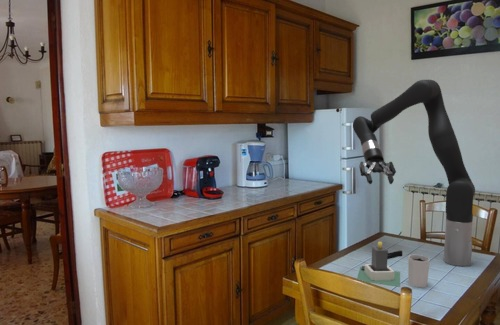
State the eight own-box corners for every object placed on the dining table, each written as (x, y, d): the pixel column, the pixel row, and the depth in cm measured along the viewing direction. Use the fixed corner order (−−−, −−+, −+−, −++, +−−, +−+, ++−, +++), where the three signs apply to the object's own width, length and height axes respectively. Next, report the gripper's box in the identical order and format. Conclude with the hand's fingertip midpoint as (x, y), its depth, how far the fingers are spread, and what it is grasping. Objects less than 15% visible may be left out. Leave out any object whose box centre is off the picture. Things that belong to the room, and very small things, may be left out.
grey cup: (404, 282, 135) (405, 254, 134) (424, 283, 134) (425, 255, 133) (410, 290, 129) (411, 261, 127) (431, 291, 128) (432, 261, 127)
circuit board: (399, 274, 142) (400, 270, 142) (399, 289, 129) (399, 285, 129) (360, 269, 147) (360, 265, 147) (356, 283, 134) (356, 278, 134)
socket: (385, 271, 142) (385, 263, 142) (394, 280, 134) (395, 272, 134) (363, 271, 141) (364, 263, 141) (371, 280, 134) (372, 272, 133)
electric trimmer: (404, 258, 160) (405, 251, 160) (379, 264, 152) (379, 257, 152) (397, 256, 163) (397, 248, 163) (371, 262, 155) (372, 254, 155)
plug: (381, 273, 140) (383, 240, 139) (386, 278, 136) (388, 243, 135) (371, 273, 140) (372, 240, 138) (375, 278, 136) (376, 243, 134)
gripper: (358, 147, 166) (366, 177, 156) (391, 147, 167) (401, 177, 157) (354, 158, 172) (361, 188, 162) (385, 158, 173) (395, 188, 162)
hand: (381, 182), depth 159 cm, fingers open, 8 cm apart
